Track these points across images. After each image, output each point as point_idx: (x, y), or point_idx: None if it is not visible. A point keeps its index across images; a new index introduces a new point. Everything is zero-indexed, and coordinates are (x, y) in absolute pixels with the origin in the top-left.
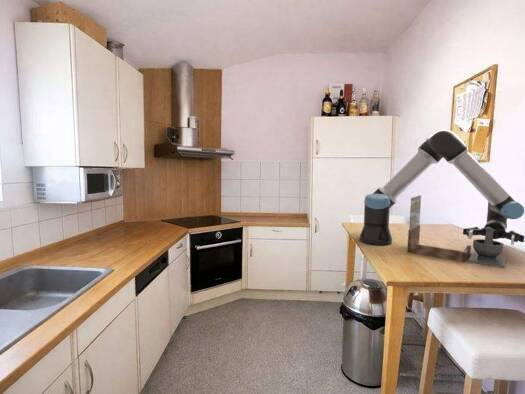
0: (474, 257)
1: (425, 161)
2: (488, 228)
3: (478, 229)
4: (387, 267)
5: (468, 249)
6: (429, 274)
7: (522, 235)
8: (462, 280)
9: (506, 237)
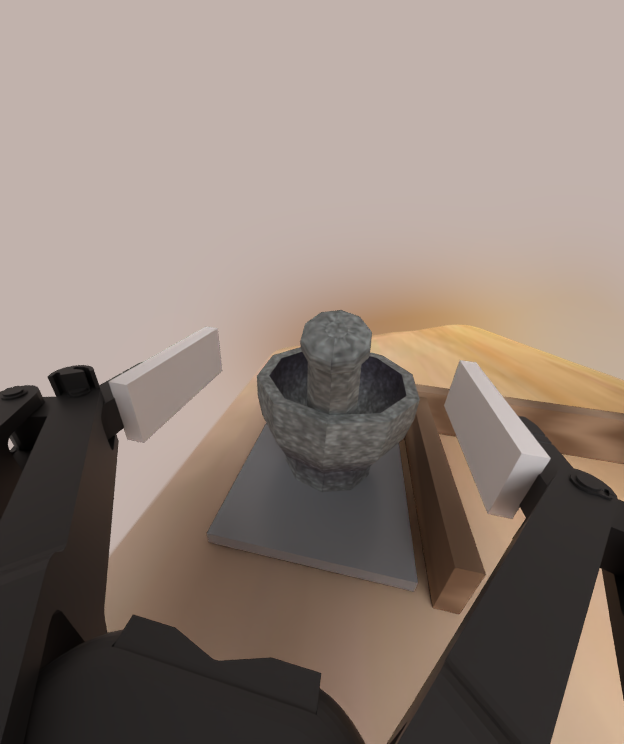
0: (382, 459)
1: None
2: (351, 316)
3: (526, 595)
4: (517, 347)
5: (425, 446)
6: (435, 342)
7: (16, 388)
8: (377, 337)
9: (106, 516)
